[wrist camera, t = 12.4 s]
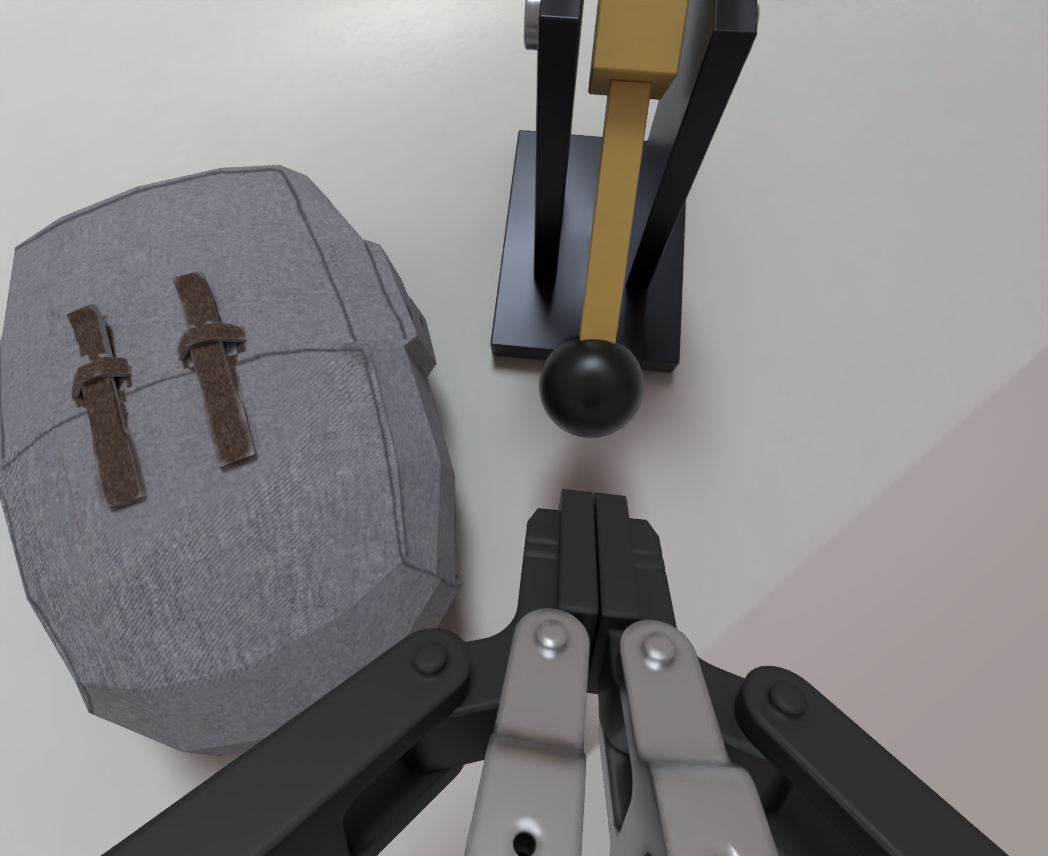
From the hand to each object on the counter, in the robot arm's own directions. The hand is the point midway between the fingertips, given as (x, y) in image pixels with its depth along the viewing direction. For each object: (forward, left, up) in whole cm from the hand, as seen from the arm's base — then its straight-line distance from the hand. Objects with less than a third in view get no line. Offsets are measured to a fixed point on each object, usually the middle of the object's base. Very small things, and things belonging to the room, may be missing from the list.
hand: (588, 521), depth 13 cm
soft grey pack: (+11, +5, -10) cm, 15 cm away
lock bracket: (+7, -11, -9) cm, 16 cm away
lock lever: (+5, -8, -3) cm, 10 cm away
